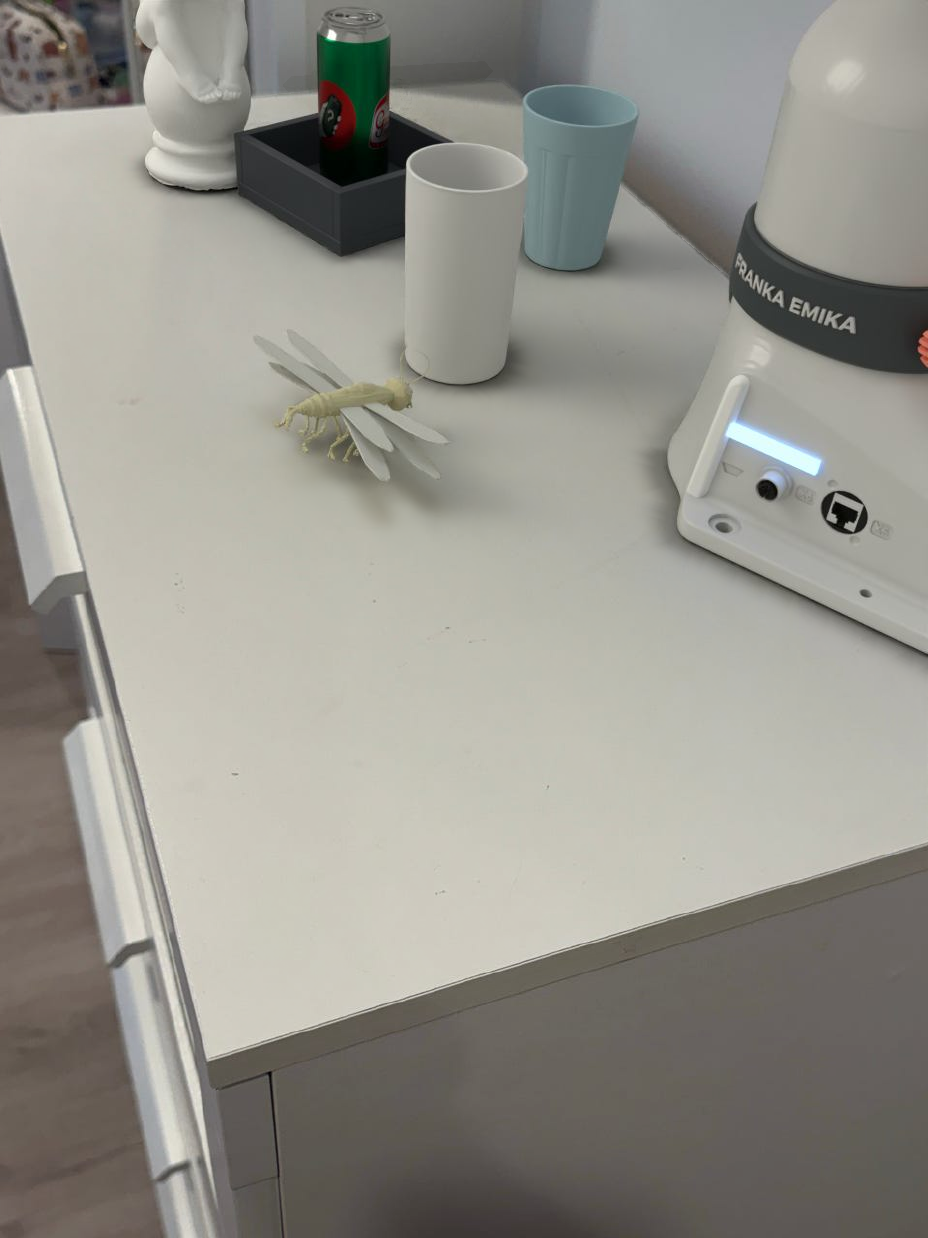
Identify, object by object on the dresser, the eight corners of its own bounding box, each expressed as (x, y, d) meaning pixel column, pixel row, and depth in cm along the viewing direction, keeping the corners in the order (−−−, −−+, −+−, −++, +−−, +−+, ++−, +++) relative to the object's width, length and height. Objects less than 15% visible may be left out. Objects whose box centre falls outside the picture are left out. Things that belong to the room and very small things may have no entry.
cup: (577, 222, 88) (596, 77, 81) (637, 266, 84) (663, 116, 76) (490, 239, 85) (502, 91, 78) (547, 286, 81) (565, 132, 73)
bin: (473, 212, 88) (478, 152, 85) (340, 256, 82) (339, 193, 79) (368, 156, 95) (369, 99, 92) (237, 193, 88) (233, 132, 85)
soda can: (385, 205, 86) (388, 29, 78) (316, 200, 86) (311, 24, 78) (390, 177, 90) (393, 7, 82) (323, 173, 90) (320, 1, 81)
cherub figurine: (246, 204, 87) (223, -145, 72) (79, 191, 87) (21, -161, 72) (273, 142, 96) (257, -180, 81) (121, 130, 96) (77, -194, 81)
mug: (515, 388, 71) (536, 193, 62) (403, 388, 70) (409, 190, 62) (497, 306, 78) (513, 122, 70) (395, 305, 77) (400, 119, 69)
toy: (211, 412, 67) (203, 333, 63) (341, 366, 71) (340, 290, 68) (364, 547, 59) (364, 465, 56) (498, 486, 63) (506, 407, 60)
